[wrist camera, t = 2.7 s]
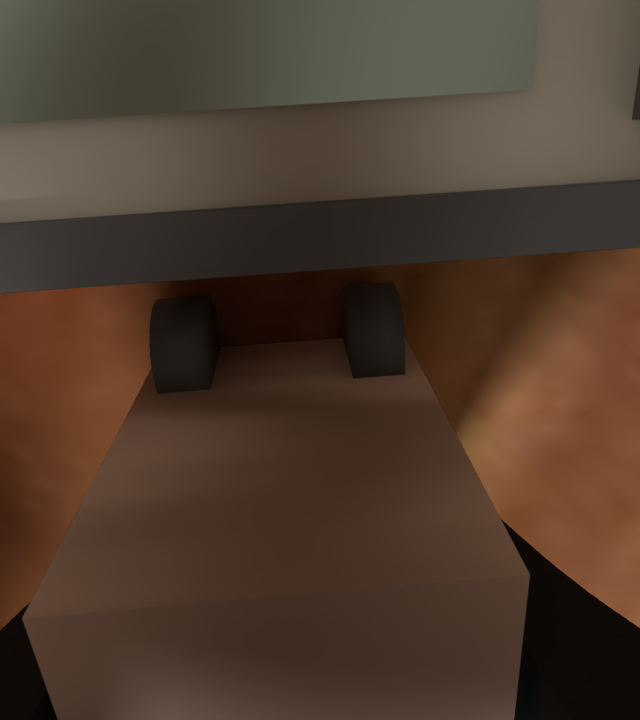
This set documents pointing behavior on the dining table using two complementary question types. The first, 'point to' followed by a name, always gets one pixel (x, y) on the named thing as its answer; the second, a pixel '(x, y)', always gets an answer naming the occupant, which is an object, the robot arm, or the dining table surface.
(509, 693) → the wooden trolley
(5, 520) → the dining table surface
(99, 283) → the dock
